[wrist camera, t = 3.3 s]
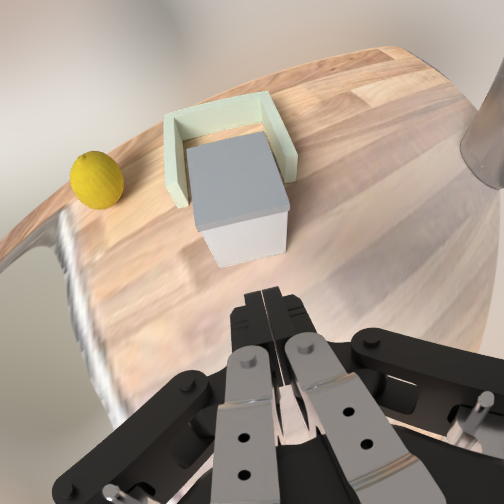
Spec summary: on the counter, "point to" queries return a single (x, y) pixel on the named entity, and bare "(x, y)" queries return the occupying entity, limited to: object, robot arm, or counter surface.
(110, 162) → the lemon
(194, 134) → the bay
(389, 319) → the counter surface
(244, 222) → the lidded grey box
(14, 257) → the counter surface
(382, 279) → the counter surface
